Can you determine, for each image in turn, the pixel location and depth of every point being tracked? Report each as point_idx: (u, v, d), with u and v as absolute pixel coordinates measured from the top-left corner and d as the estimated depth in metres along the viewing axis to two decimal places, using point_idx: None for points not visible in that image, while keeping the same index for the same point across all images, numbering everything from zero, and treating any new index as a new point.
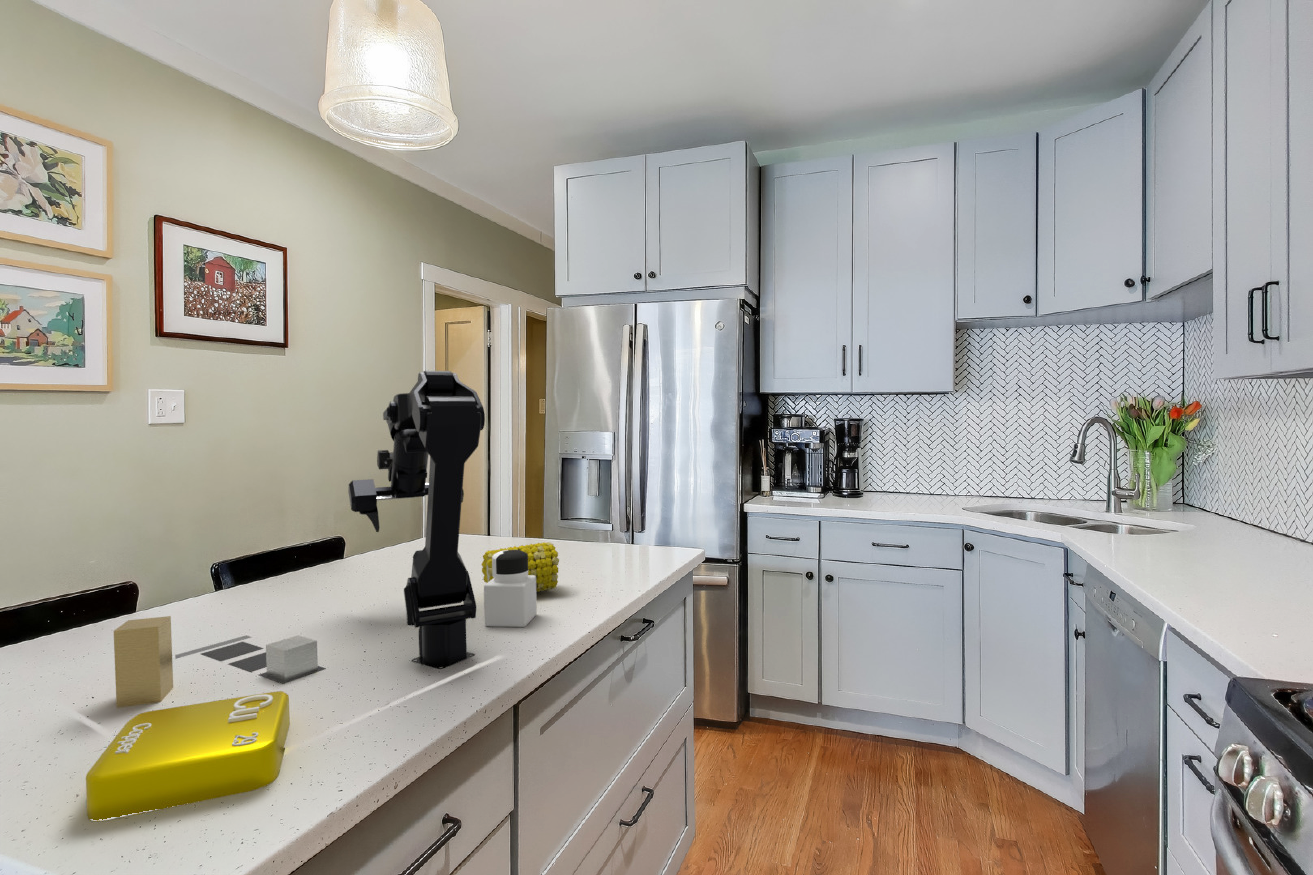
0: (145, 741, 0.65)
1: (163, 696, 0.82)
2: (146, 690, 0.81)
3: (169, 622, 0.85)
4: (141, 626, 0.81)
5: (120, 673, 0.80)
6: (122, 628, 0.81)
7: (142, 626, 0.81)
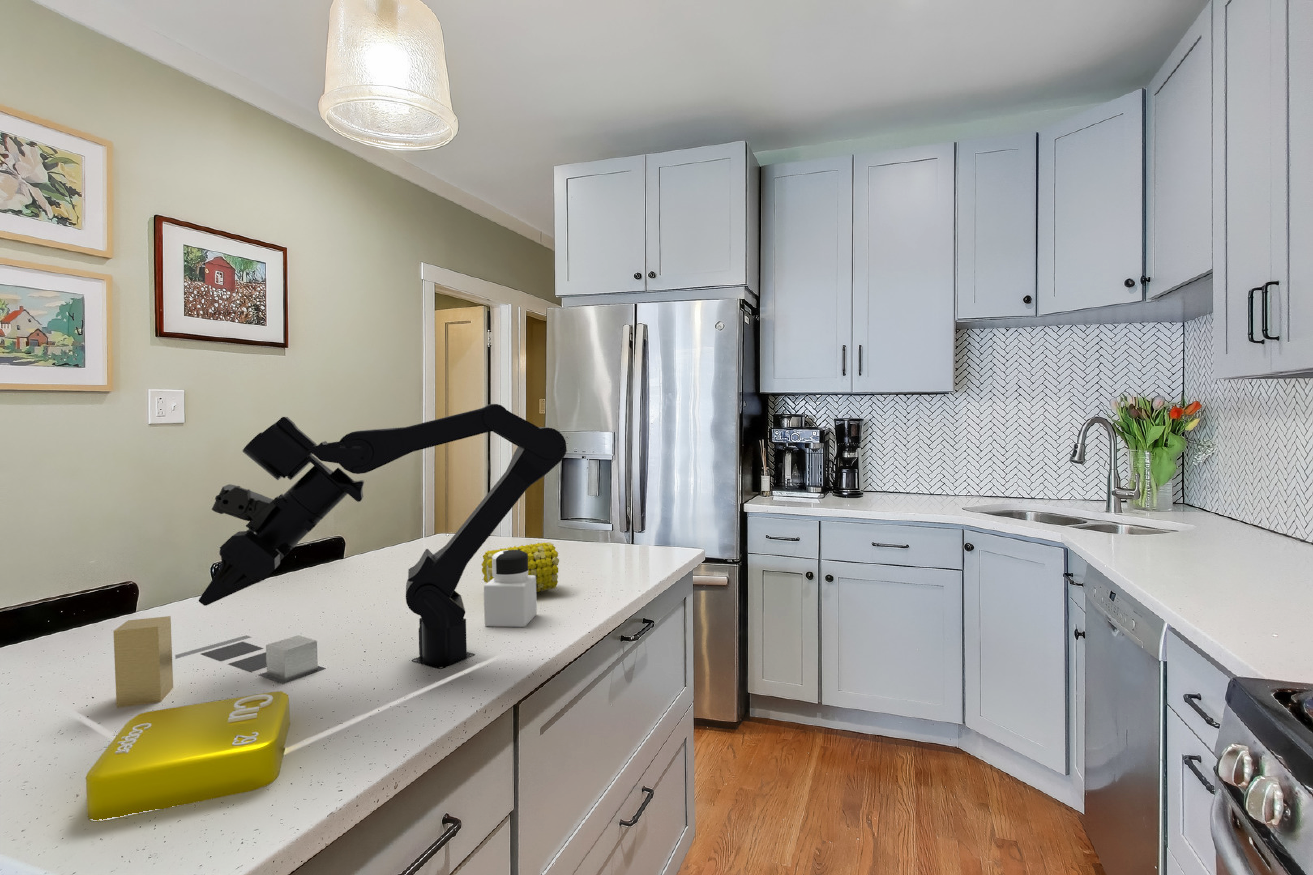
0: (145, 741, 0.65)
1: (163, 696, 0.82)
2: (146, 690, 0.81)
3: (169, 622, 0.85)
4: (141, 626, 0.81)
5: (119, 673, 0.80)
6: (122, 628, 0.81)
7: (142, 626, 0.81)
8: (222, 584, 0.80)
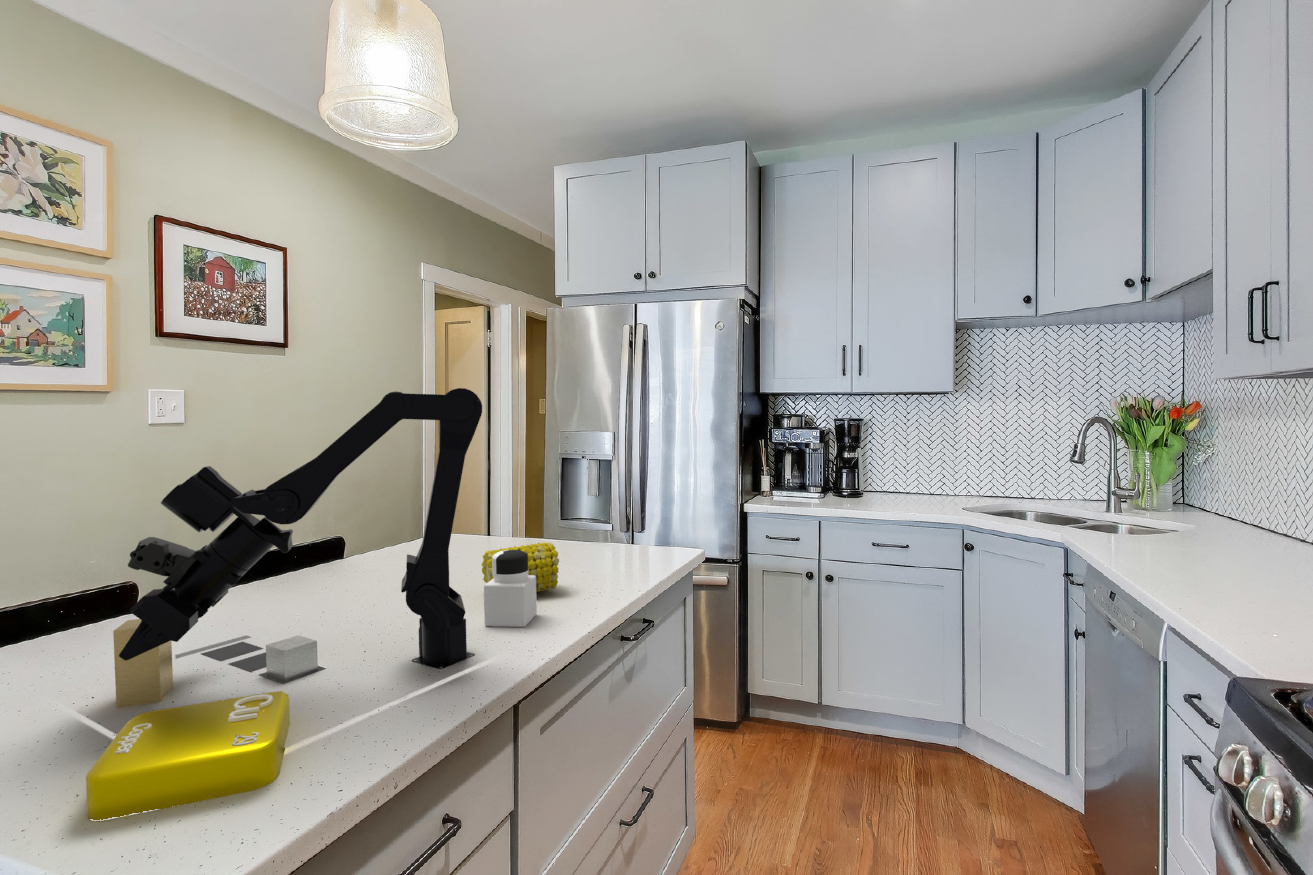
0: (145, 741, 0.65)
1: (163, 696, 0.82)
2: (146, 690, 0.81)
3: None
4: None
5: (119, 673, 0.80)
6: (122, 628, 0.81)
7: None
8: (143, 639, 0.80)
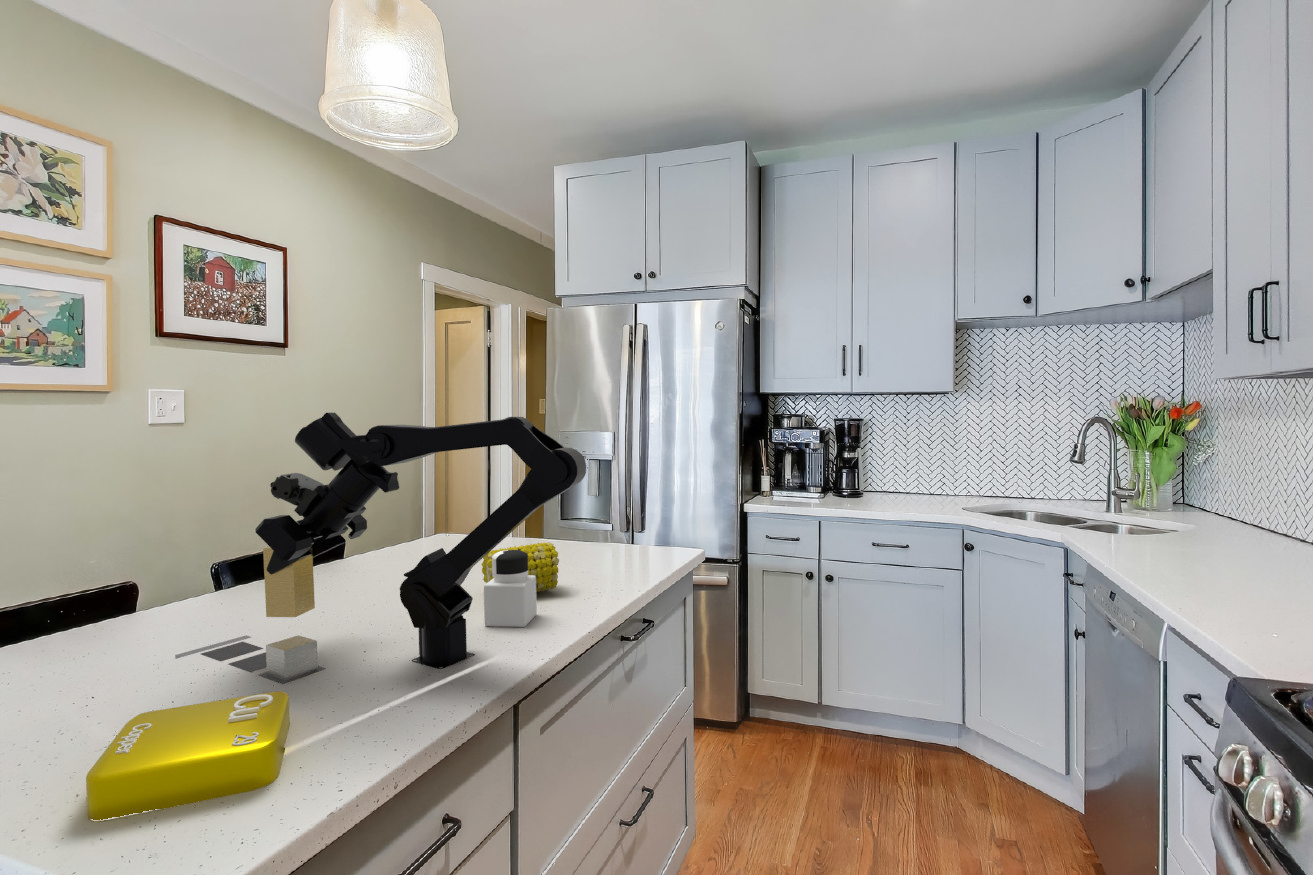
0: (145, 741, 0.65)
1: (299, 609, 0.96)
2: (285, 601, 0.95)
3: None
4: None
5: (267, 585, 0.95)
6: None
7: None
8: (279, 557, 0.93)
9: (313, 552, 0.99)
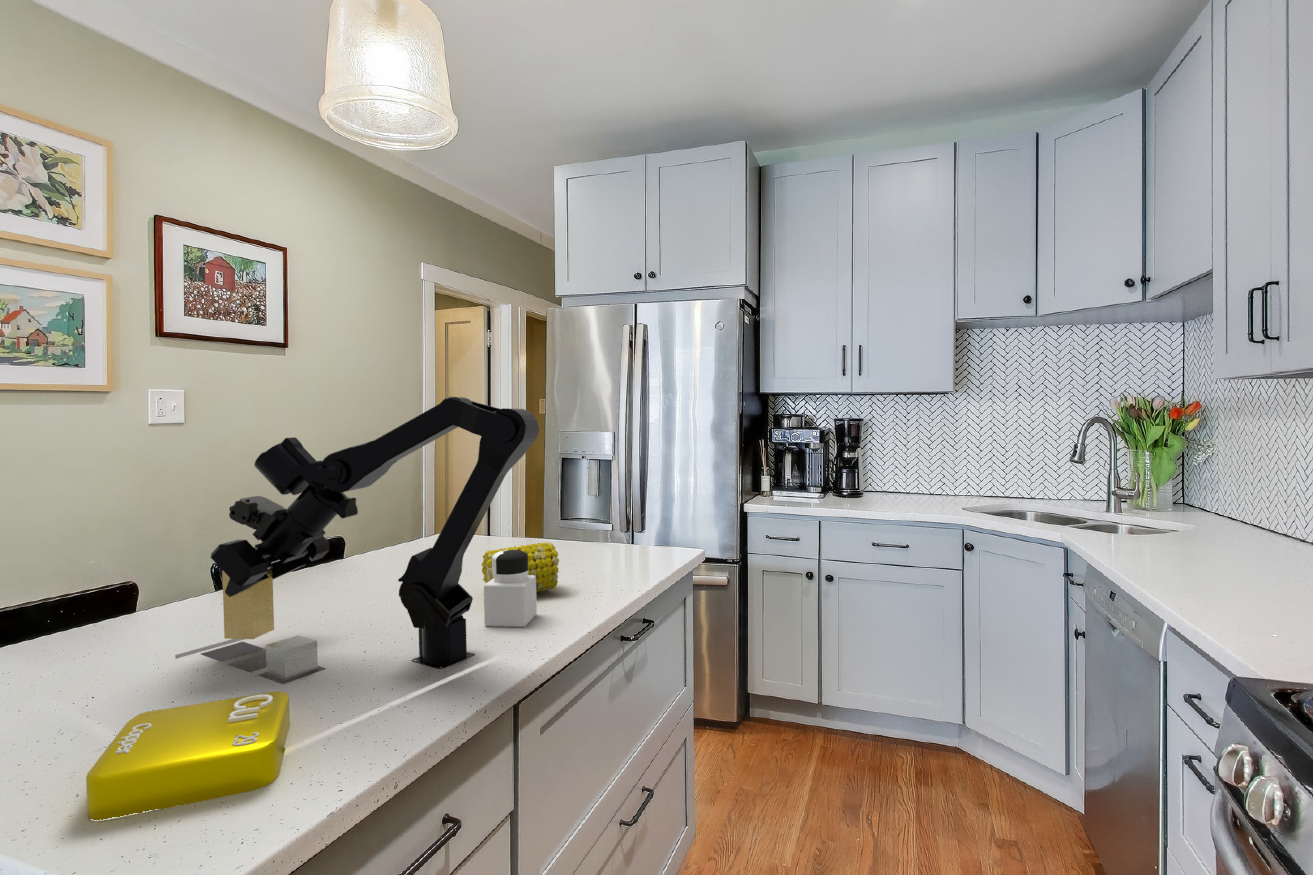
0: (145, 741, 0.65)
1: (257, 631, 0.97)
2: (243, 624, 0.96)
3: (269, 569, 1.00)
4: None
5: (226, 606, 0.96)
6: None
7: None
8: None
9: (273, 574, 1.00)
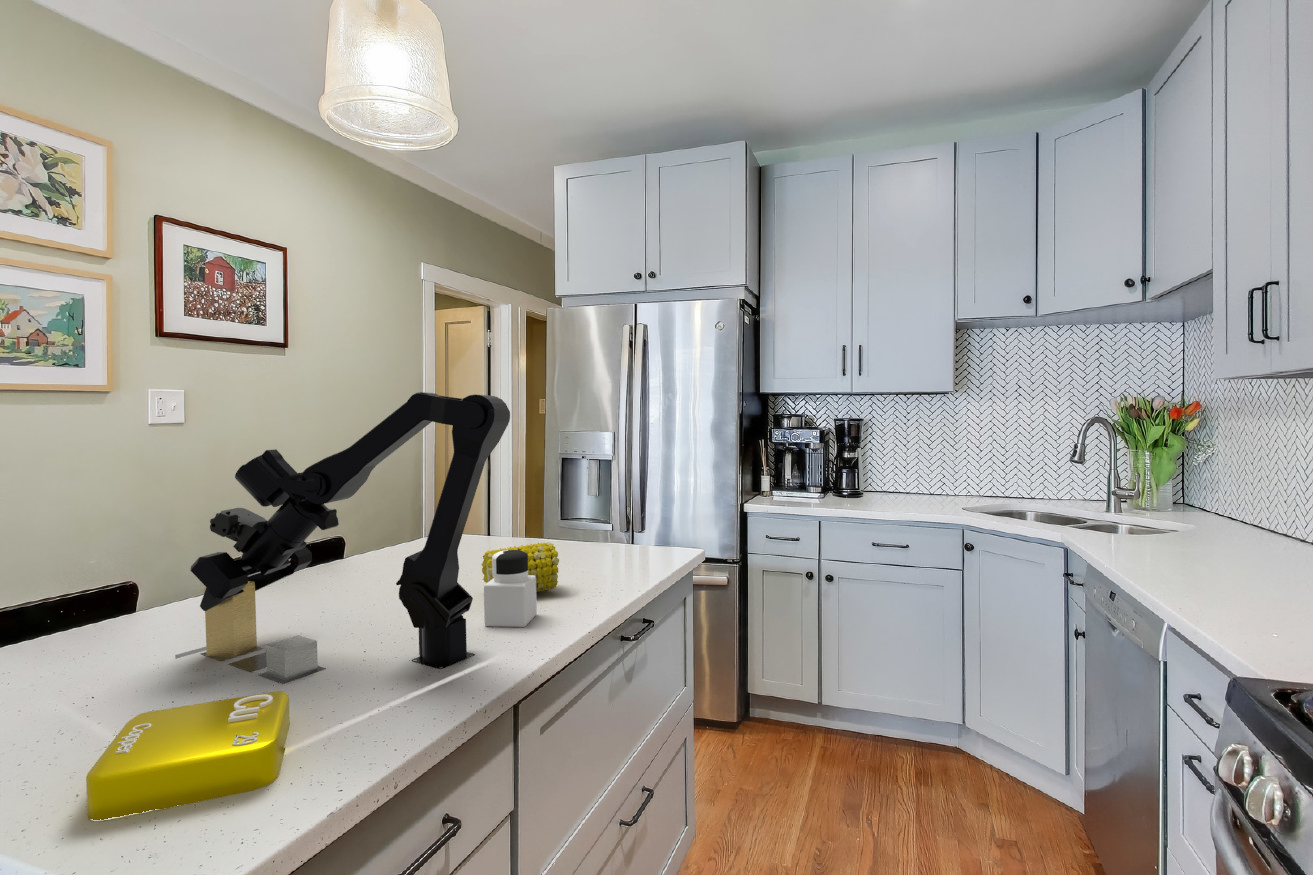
0: (145, 741, 0.65)
1: (239, 648, 0.97)
2: (225, 641, 0.97)
3: (252, 586, 1.00)
4: None
5: (208, 624, 0.97)
6: None
7: None
8: (211, 595, 0.94)
9: (261, 583, 1.02)
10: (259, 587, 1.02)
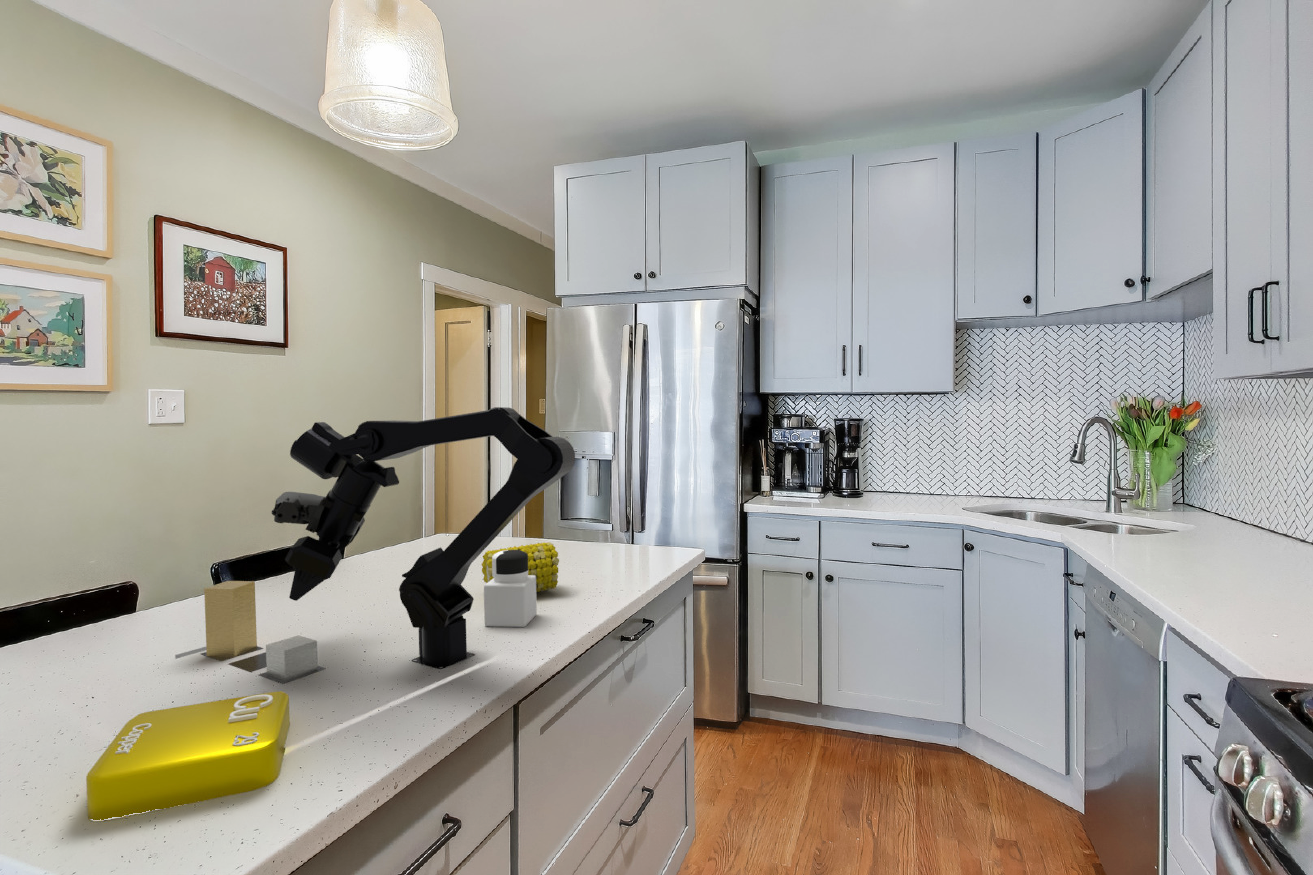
0: (145, 741, 0.65)
1: (239, 648, 0.97)
2: (225, 641, 0.97)
3: (252, 586, 1.00)
4: (224, 587, 0.97)
5: (208, 624, 0.97)
6: (212, 587, 0.97)
7: (224, 587, 0.97)
8: (302, 583, 0.92)
9: None
10: None
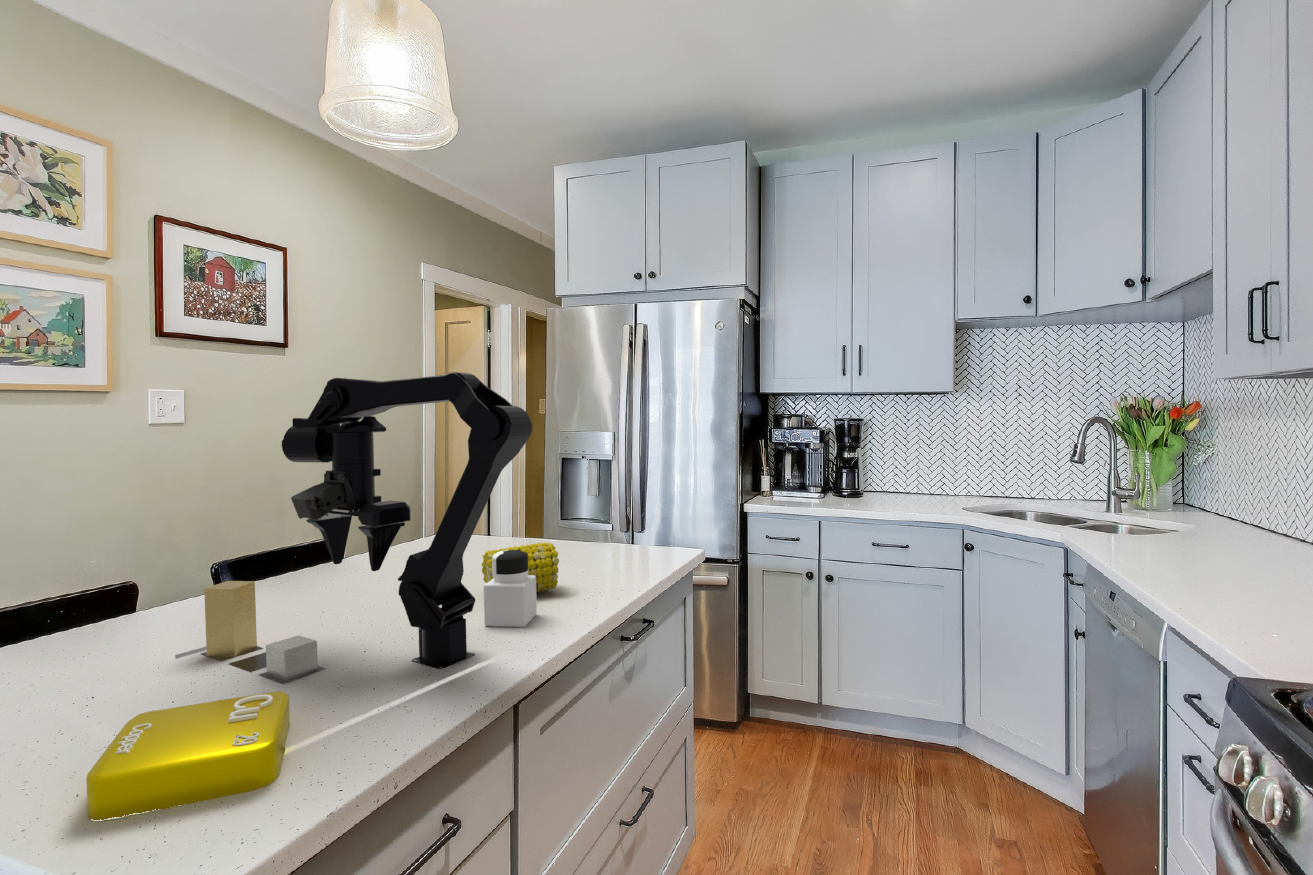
0: (145, 741, 0.65)
1: (239, 648, 0.97)
2: (225, 641, 0.97)
3: (252, 586, 1.00)
4: (224, 587, 0.97)
5: (208, 624, 0.97)
6: (212, 587, 0.97)
7: (224, 587, 0.97)
8: (380, 548, 0.96)
9: (344, 537, 1.02)
10: (345, 541, 1.02)
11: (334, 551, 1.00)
